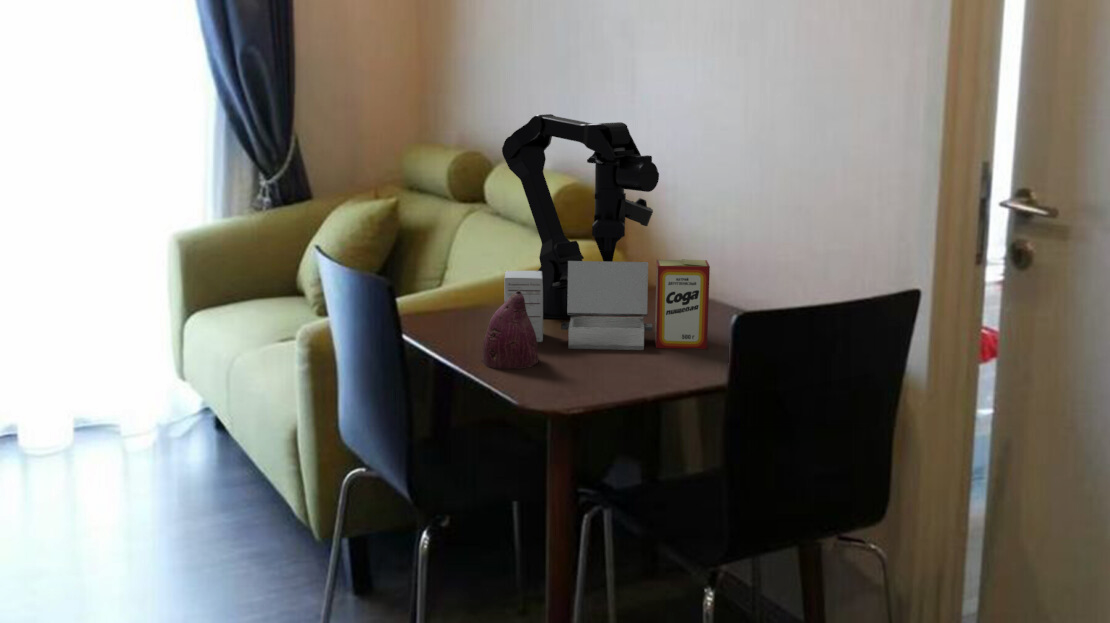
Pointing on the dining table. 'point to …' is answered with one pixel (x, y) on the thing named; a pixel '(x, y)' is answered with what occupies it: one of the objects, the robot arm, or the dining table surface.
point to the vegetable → (510, 337)
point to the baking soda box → (682, 303)
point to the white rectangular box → (606, 332)
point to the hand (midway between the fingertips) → (608, 266)
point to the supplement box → (528, 295)
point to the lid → (607, 288)
